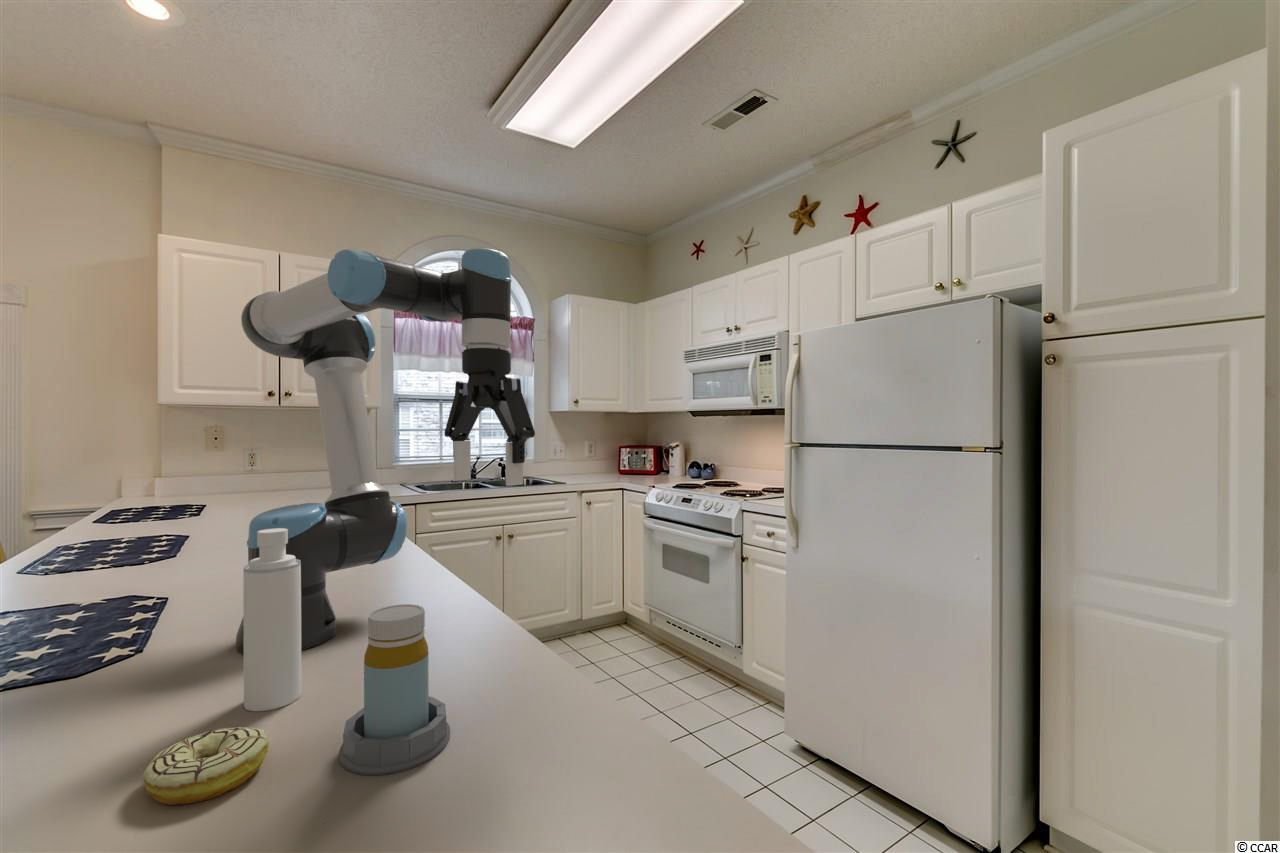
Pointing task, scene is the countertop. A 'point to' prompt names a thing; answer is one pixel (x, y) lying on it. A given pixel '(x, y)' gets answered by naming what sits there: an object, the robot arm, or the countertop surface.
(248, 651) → the spray bottle
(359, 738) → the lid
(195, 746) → the decorated donut
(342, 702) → the countertop surface
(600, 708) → the countertop surface
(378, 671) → the bottle
